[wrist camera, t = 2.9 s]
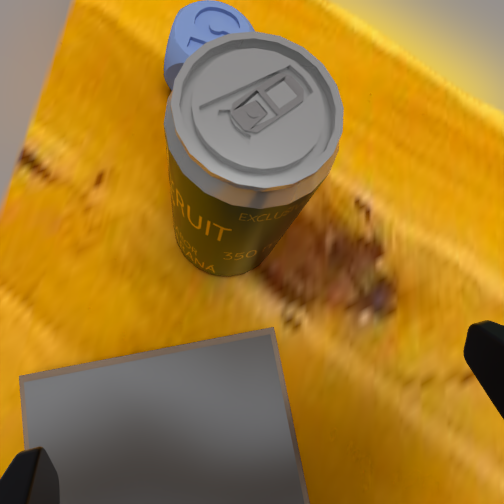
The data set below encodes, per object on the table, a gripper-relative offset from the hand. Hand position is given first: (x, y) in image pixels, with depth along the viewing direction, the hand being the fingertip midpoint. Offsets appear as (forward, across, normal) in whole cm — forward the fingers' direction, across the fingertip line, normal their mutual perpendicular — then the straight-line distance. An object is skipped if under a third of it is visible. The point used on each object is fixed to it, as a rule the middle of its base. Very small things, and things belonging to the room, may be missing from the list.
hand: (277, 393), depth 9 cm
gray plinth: (+7, +3, +12) cm, 14 cm away
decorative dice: (+22, -3, -2) cm, 22 cm away
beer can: (+15, -2, +4) cm, 16 cm away
